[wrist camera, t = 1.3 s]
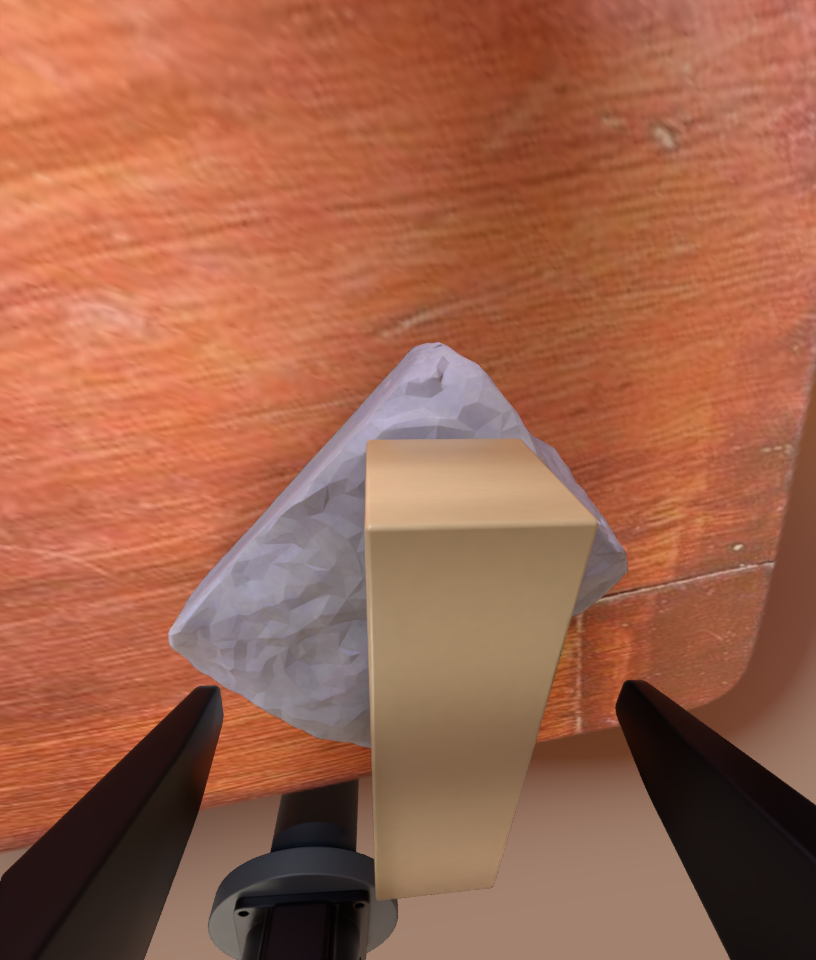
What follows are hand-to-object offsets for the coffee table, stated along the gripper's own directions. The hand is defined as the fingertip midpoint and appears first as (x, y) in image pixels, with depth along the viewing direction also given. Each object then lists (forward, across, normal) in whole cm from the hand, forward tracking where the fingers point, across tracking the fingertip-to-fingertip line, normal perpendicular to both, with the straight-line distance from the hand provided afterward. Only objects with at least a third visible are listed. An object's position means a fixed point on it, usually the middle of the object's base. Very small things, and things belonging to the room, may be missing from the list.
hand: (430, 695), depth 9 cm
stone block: (+6, 0, 0) cm, 6 cm away
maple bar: (+2, 0, 0) cm, 2 cm away
